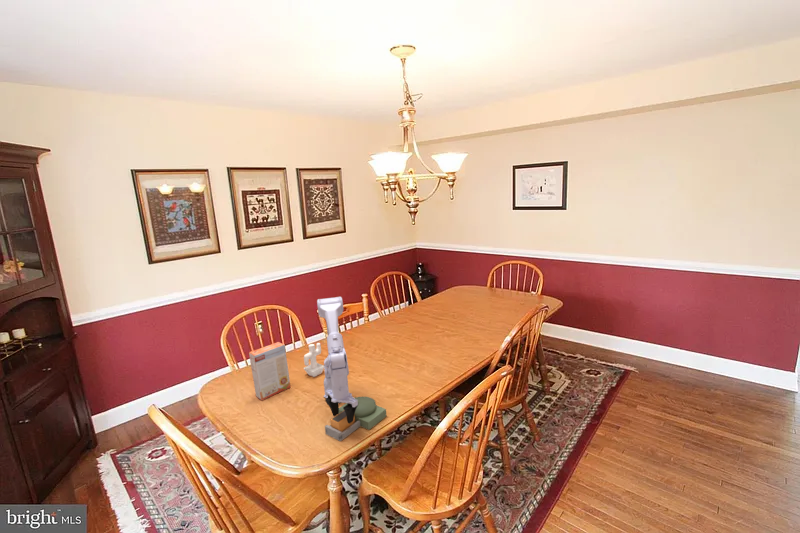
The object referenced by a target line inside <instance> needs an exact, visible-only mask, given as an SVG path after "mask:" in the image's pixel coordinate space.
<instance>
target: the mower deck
mask: <svg viewBox="0 0 800 533" xmlns="http://www.w3.org/2000/svg"><path fill="white" fill-rule="evenodd" d="M354 398H355V399H356V400H358V406H357V408H356V411H355V414H354V415H355V423H354V424H353V425H351V426H350V427H349V428H347V429H346V430H344V431H343V432H341V431H339V430H337V429H335V428H333V427H331V424H330V425H328V424H326V425H324V431H325V435H327V436H329V437H330V438H333V439H334V440H337V441H338V442H342V441H343V440H344V439H346V438H347V437H348V436H350V435H351V434H352V433H354V432H355V431H356V430H358V429H359V428H360V427H361V428H363V429H366V430H368V431H370V430H371V429H373V427H375V426H376V425H377V424H379V423H380V422H381V421H382V420H383V419H385V418H386V417H387V408H384V407H382V406H379V405H377V403H376V400H375V399H374V398H372V397H370V396H358V397H356V396H355V397H354ZM347 404H348V403H344V404H343V405H342V406H340V407H339V413H341V412H342V411H344V409H343V407H345V406H346V405H347Z"/></svg>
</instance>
